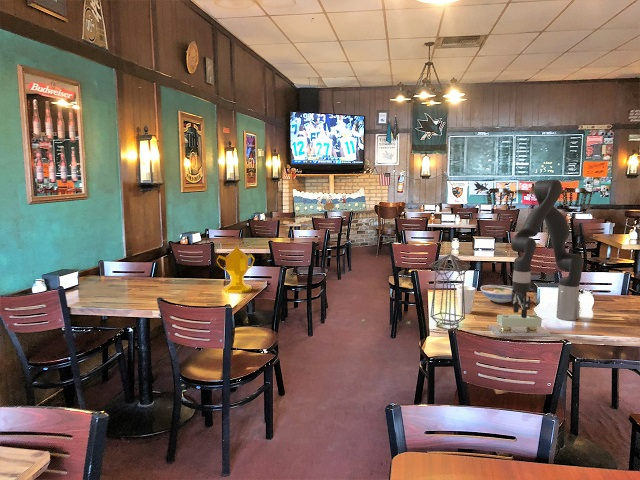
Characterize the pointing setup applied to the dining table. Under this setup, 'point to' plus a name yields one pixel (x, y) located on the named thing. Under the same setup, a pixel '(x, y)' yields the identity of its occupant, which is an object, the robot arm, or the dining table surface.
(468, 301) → the foam cup
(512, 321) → the bar
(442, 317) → the geometric lantern
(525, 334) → the board with brass pegs
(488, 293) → the ramen bowl
